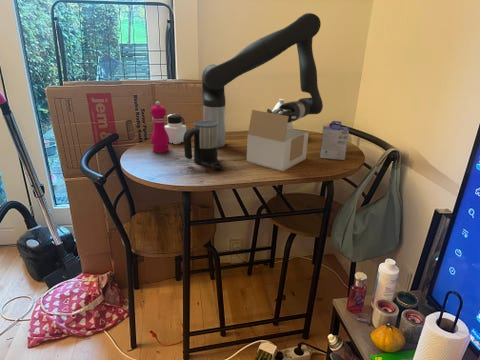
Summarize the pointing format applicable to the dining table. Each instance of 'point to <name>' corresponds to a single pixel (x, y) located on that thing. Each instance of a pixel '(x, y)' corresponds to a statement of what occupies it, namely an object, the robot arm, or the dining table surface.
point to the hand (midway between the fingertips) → (268, 118)
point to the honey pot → (281, 101)
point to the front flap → (268, 125)
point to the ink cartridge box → (334, 141)
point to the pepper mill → (159, 129)
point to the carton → (278, 150)
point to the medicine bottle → (175, 128)
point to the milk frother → (203, 143)
